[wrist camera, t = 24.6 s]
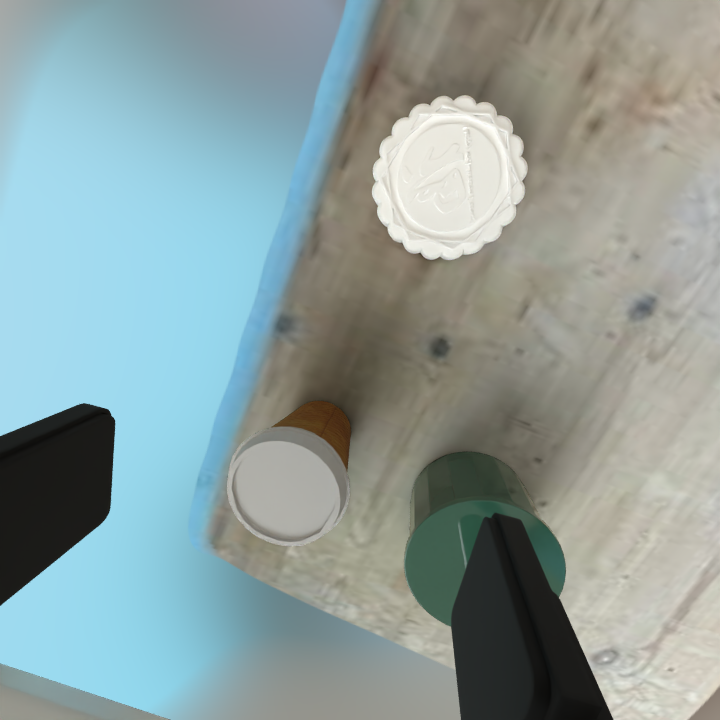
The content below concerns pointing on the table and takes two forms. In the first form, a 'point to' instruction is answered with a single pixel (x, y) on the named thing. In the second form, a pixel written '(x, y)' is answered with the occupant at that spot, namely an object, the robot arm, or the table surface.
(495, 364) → the table surface
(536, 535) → the crock lid
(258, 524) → the disposable coffee cup
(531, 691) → the robot arm
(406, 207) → the mooncake
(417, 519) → the crock
